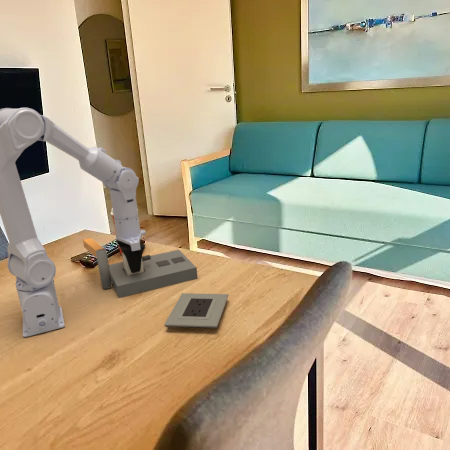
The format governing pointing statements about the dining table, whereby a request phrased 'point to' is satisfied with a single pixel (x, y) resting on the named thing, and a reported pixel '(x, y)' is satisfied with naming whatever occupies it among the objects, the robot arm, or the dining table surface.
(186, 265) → the power block
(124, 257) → the plug
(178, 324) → the electrical outlet
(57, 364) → the dining table surface
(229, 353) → the dining table surface
